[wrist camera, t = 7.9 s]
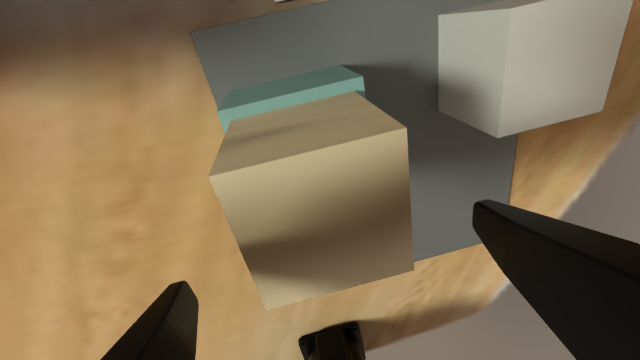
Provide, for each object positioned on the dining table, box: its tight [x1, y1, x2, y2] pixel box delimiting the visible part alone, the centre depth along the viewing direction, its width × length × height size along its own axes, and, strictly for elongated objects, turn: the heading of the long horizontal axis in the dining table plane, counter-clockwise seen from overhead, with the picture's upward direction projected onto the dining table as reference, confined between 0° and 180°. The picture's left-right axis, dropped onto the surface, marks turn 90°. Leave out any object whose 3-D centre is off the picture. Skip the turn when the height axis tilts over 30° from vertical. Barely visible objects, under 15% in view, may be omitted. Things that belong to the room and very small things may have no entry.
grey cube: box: [438, 0, 633, 138], centre depth 17 cm, size 6×6×6 cm
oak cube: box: [208, 91, 414, 310], centre depth 13 cm, size 6×6×6 cm
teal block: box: [217, 65, 366, 134], centre depth 17 cm, size 7×7×5 cm
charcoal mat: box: [190, 0, 518, 262], centre depth 22 cm, size 22×21×1 cm
